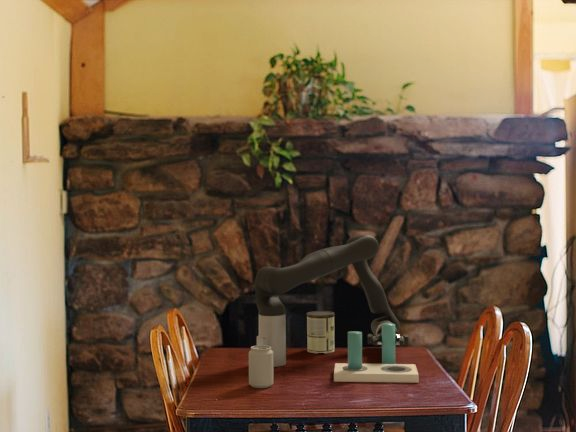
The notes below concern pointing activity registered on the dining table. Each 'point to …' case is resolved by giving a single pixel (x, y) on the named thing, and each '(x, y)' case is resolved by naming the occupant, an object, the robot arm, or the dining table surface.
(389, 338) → the pin
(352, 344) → the seated pin
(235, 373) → the dining table surface
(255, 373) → the can
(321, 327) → the coffee can
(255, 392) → the dining table surface
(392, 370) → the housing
